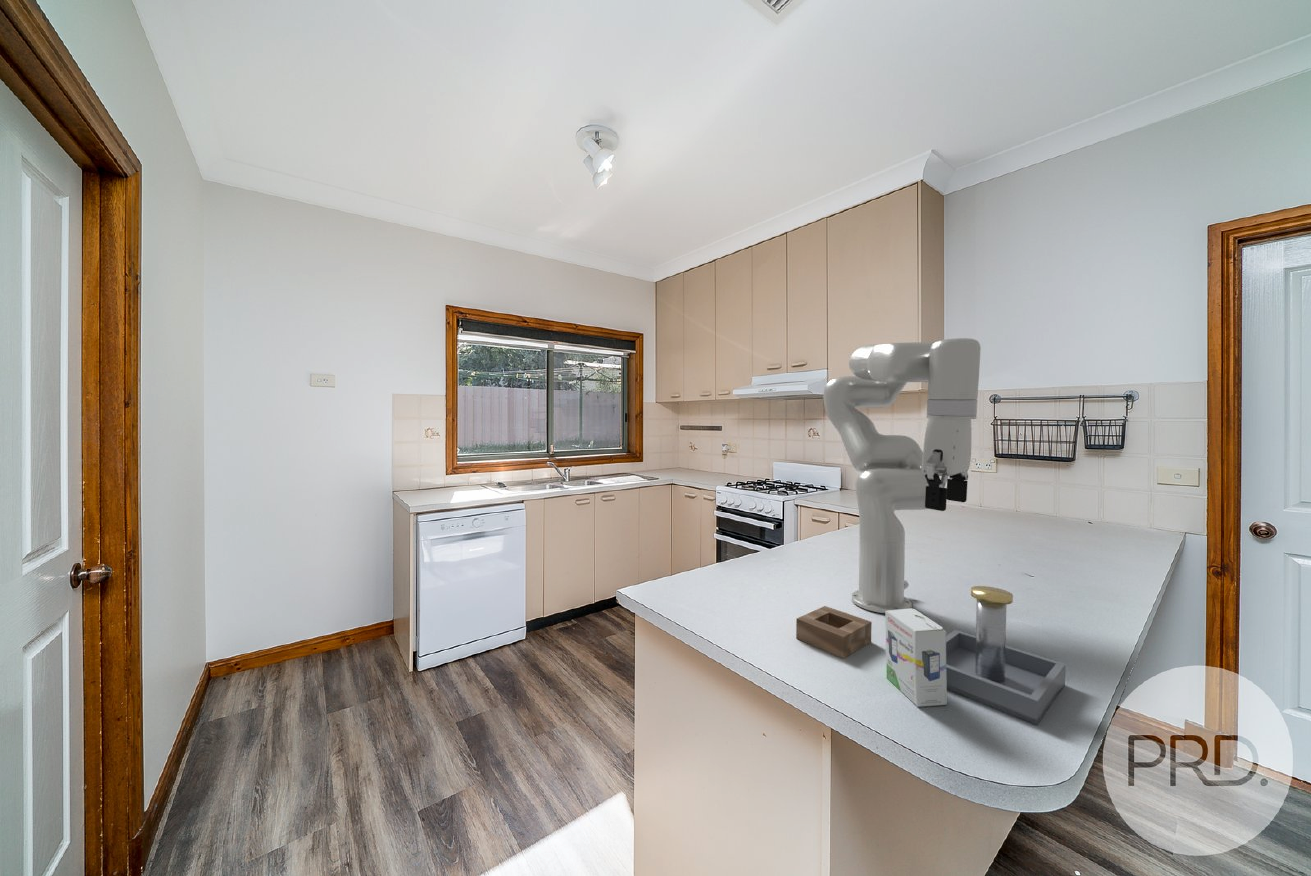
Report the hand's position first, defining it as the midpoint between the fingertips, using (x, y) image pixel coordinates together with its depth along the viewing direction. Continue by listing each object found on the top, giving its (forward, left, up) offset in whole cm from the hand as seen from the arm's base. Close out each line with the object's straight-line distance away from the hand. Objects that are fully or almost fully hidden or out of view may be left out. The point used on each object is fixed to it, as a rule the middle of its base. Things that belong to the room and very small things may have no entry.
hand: (946, 505), depth 85 cm
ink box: (+16, +2, -28) cm, 32 cm away
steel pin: (+3, +8, -27) cm, 28 cm away
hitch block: (+10, -16, -28) cm, 33 cm away
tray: (+3, +8, -28) cm, 29 cm away
